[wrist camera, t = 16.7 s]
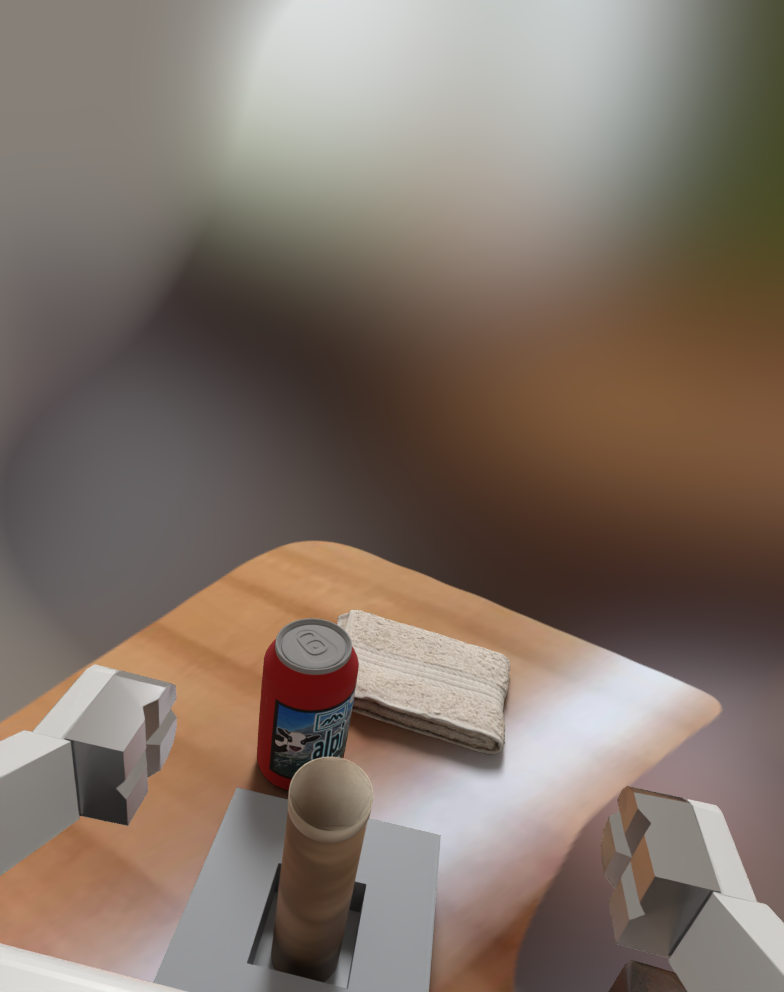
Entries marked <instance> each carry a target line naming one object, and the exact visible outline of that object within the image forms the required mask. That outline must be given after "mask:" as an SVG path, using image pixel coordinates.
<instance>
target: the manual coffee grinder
mask: <svg viewBox="0 0 784 992" xmlns="http://www.w3.org/2000/svg"><path fill="white" fill-rule="evenodd" d="M609 992H687V990H686V989H685V987H684V985H683V984H682V982H681V981H680V979H679V977H678V976H677V974H676V973H674V972H670V971H667V970H664V969H661V968H657V967H654V966H651V965H647V964H644V963H640V962H636V961H632V960H631V961H630V962H628V963H627V964H625V966H624V967H623V969H622V970H621V972H620V974H619V975H618V977H617V978H616V980H615V982H614V984H613V985H612V987H611V988H610V990H609Z"/></svg>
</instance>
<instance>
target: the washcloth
mask: <svg viewBox="0 0 784 992" xmlns="http://www.w3.org/2000/svg"><path fill="white" fill-rule="evenodd" d="M337 619H338V622H337V625H338V626H340V627H341V628H343V629H344V630H345V631H346V632H347V634H348V635H349V637H350V639H351V642H352V646H353V648H354V650H355V652H356V654H357V657H358V661H359V669H358V676H357V682H356V689H355V695H354V701H353V707H355V709H354V708H352V711H353V712H356V713H358V714H361V715H364V716H367V717H370V718H373V719H377V720H380V721H383V722H386V723H390V724H392V725H395V726H399V727H402V728H405V729H408V730H411V731H414V732H417V733H421V734H424V735H427V736H430V737H433V738H437V739H441V740H444V741H447V742H450V743H453V744H456V745H459V746H461V747H465V748H468V749H471V750H474V751H477V752H480V753H485V754H497V753H499V752H501V751H502V750H503V745H504V743H505V742H504V740H505V739H504V737H505V733H504V732H505V722H504V714H503V706H504V699H505V698H506V695H507V690H508V685H509V671H510V661H509V660H508V658H507V657H505V656H504V655H502V654H501V653H499V652H494V651H491V650H489V649H485V648H482V647H480V646H476V645H471V644H467V643H465V642H460V641H459V640H456V639H452V638H449V637H447V636H442V635H440V634H437V633H435V632H429V631H426V630H424V629H422V628H415V627H414V626H409V625H406V624H401V623H398V622H395V621H393V620H389V619H384V618H383V617H379V616H376V615H373V614H371V613H368V612H367V613H365V612H363V611H360V610H351V611H350V613H346V614H342V615H340V616H339V617H338V618H337Z"/></svg>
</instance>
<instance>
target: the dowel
mask: <svg viewBox="0 0 784 992" xmlns="http://www.w3.org/2000/svg"><path fill="white" fill-rule="evenodd" d="M372 802H373V789H372V785H371V782H370V780H369V778H368V776H367V775H366V773H365V772H364V771H363V770H362V769H361V768H360V767H359V766H357V765H356V764H354V763H353V762H351V761H348V760H346V759H343V758H338V757H322V758H317V759H314V760H312V761H310V762H308V763H306V764H305V765H303V766H302V767H301V768H300V769H299V770H298V771H297V772H296V773H295V775H294V777H293V778H292V781H291V783H290V787H289V796H288V813H287V822H286V830H285V839H284V847H283V856H282V865H281V873H280V882H279V890H278V899H277V908H276V916H275V925H274V933H273V942H272V951H271V956H272V963H273V966H274V969H275V970H276V971H280V972H284V973H288V974H292V975H296V976H300V977H304V978H307V979H311V980H315V981H319V982H323V983H324V982H325V981H326V980H327V979H328V978H329V977H330V976H331V975H332V973H333V972H334V970H335V968H336V966H337V963H338V960H339V955H340V950H341V946H342V941H343V936H344V931H345V927H346V922H347V917H348V912H349V907H350V903H351V898H352V893H353V888H354V883H355V879H356V874H357V869H358V864H359V860H360V855H361V850H362V845H363V840H364V836H365V831H366V826H367V821H368V819H369V816H370V812H371V807H372Z"/></svg>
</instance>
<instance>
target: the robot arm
mask: <svg viewBox="0 0 784 992" xmlns="http://www.w3.org/2000/svg"><path fill="white" fill-rule="evenodd" d="M175 701H176V685H174V684H172V683H168V682H164V681H160V680H156V679H152V678H148V677H144V676H140V675H137V674H133V673H129V672H125V671H119V670H115V669H111V668H107V667H103V666H99V665H93V666H91V667H90V668H88V669H86V670H85V671H84V672H83V674H82V675H81V676H80V677H79V678H78V679H77V680H76V682H75V683H74V684H73V685H72V686H71V687H70V689H69V690H68V691H67V692H66V693H65V694H64V696H63V697H62V698H61V699H60V700H59V701H58V702H57V704H56V705H55V706H54V707H53V708H52V709H51V711H50V712H49V713H48V714H47V715H46V716H45V717H44V719H43V720H42V721H41V722H40V723H39V724H38V726H37V727H36V728H35V729H34V730H33V731H32V732H30V731H25V730H23V731H21V732H19V733H17V734H15V735H13V736H11V737H9V738H6V739H4V740H2V741H0V876H1V875H2V874H4V873H5V872H6V871H8V870H9V869H11V868H12V867H13V866H15V865H16V864H18V863H19V862H20V861H22V860H23V859H24V858H26V857H27V856H29V855H30V854H31V853H33V852H34V851H36V850H37V849H38V848H40V847H41V846H43V845H44V844H45V843H47V842H48V841H49V840H51V839H52V838H54V837H55V836H56V835H58V834H59V833H61V832H62V831H63V830H65V829H66V828H67V827H69V826H70V825H72V824H73V823H74V822H76V821H77V820H79V818H80V817H79V816H84V817H89V818H93V819H98V820H103V821H108V822H112V823H117V824H122V825H127V826H128V825H129V823H130V821H131V820H132V818H133V816H134V815H135V813H136V811H137V809H138V808H139V806H140V804H141V803H142V801H143V799H144V797H145V796H146V794H147V792H148V781H147V778H148V777H150V776H151V775H153V774H155V773H156V772H158V771H160V770H161V768H162V766H163V764H164V763H165V761H166V759H167V757H168V755H169V752H170V749H171V747H172V744H173V741H174V738H175V732H176V720H177V717H176V716H175V714H174V713H173V712H172V710H171V707H172V705H173V704H174V702H175ZM617 801H618V806H619V810H620V811H619V812H617V813H615V814H613V815H611V816H609V818H608V821H607V823H606V825H605V828H604V830H603V837H602V844H601V854H602V855H601V856H602V865H603V871H604V875H605V877H606V878H607V879H608V880H609V882H610V883H611V884H612V886H613V887H614V888H615V890H614V892H613V894H612V896H611V898H610V900H609V906H610V912H611V918H612V923H613V929H614V934H615V940H616V944H619V945H623V946H626V947H630V948H634V949H638V950H641V951H645V952H648V953H652V954H656V955H659V956H663V957H667V958H670V959H669V960H668V961H669V963H670V964H671V966H672V968H673V969H674V971H675V973H676V974H677V976H678V977H679V979H680V981H681V982H682V984H683V985H684V987H685V989H686V990H687V992H784V923H783V922H782V921H781V920H780V919H779V917H777V915H776V914H775V913H774V912H773V911H772V910H771V909H770V908H769V907H768V906H767V905H766V904H762V903H759V902H757V900H756V898H755V895H754V893H753V890H752V887H751V885H750V882H749V880H748V877H747V875H746V872H745V870H744V867H743V865H742V862H741V860H740V857H739V854H738V852H737V849H736V847H735V844H734V842H733V839H732V837H731V834H730V831H729V829H728V826H727V824H726V821H725V819H724V816H723V814H722V812H721V810H720V809H719V808H718V807H717V806H716V805H712V804H707V803H702V802H698V801H694V800H689V799H684V798H681V797H677V796H672V795H667V794H662V793H658V792H653V791H649V790H644V789H639V788H635V787H630V786H627V787H625V788H624V789H623V790H622V791H621V793H620V795H619V797H618V799H617ZM0 992H188V991H184V990H180V989H176V988H172V987H168V986H165V985H161V984H157V983H153V982H149V981H145V980H141V979H137V978H133V977H129V976H126V975H122V974H118V973H114V972H110V971H106V970H102V969H98V968H94V967H90V966H87V965H83V964H79V963H75V962H71V961H67V960H63V959H59V958H55V957H51V956H48V955H44V954H40V953H36V952H32V951H28V950H24V949H20V948H16V947H12V946H8V945H5V944H1V943H0Z"/></svg>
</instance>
